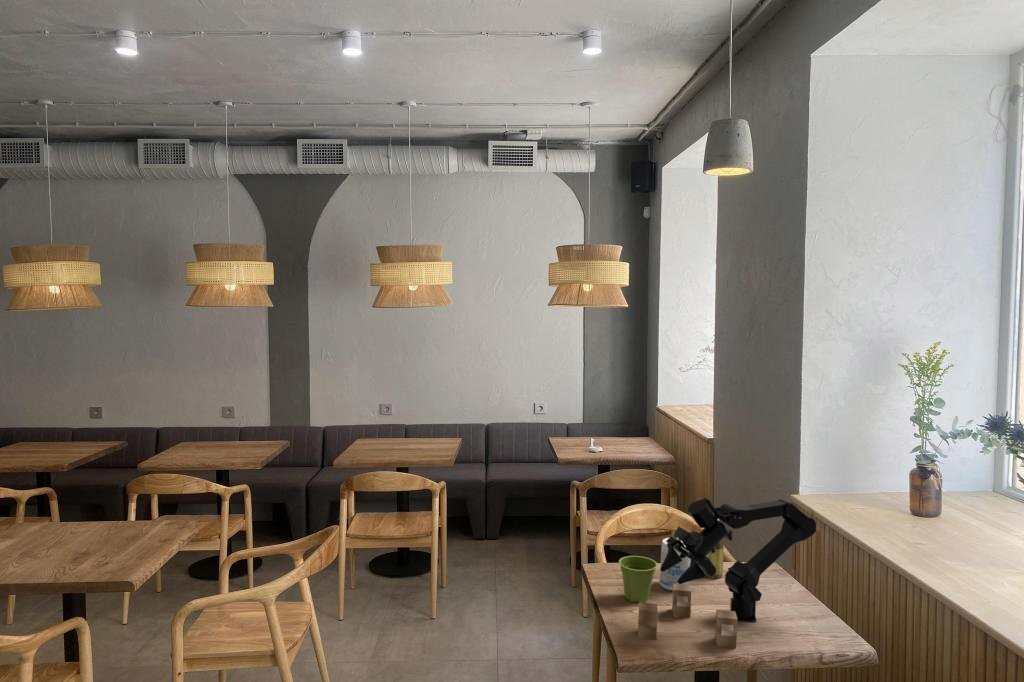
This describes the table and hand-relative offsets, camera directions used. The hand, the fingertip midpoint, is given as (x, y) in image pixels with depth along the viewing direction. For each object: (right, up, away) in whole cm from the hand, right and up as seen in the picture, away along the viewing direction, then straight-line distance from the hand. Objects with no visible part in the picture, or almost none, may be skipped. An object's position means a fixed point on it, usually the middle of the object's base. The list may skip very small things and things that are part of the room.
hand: (669, 576), depth 205 cm
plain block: (-7, -15, -4) cm, 17 cm away
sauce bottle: (+23, -13, +39) cm, 47 cm away
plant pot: (-6, -14, +20) cm, 25 cm away
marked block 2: (+14, -16, -7) cm, 22 cm away
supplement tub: (+8, -13, +30) cm, 34 cm away
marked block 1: (+6, -14, +10) cm, 18 cm away
